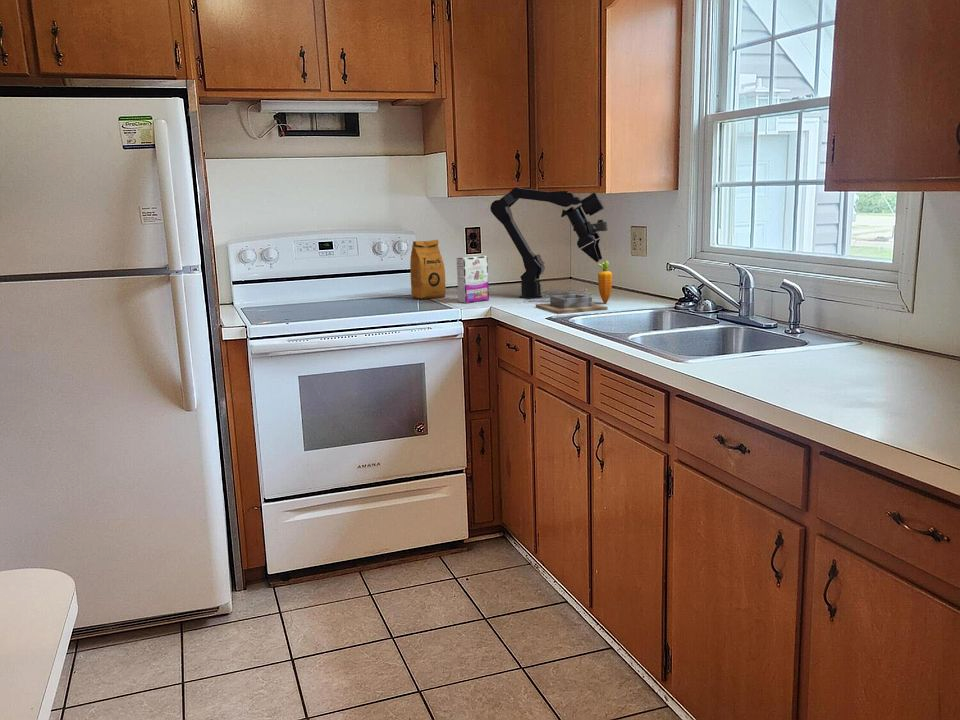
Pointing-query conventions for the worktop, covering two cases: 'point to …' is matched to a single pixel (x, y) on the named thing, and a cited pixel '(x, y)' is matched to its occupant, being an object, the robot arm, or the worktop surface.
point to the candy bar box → (472, 279)
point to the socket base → (570, 304)
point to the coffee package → (427, 270)
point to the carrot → (605, 282)
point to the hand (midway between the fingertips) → (599, 260)
